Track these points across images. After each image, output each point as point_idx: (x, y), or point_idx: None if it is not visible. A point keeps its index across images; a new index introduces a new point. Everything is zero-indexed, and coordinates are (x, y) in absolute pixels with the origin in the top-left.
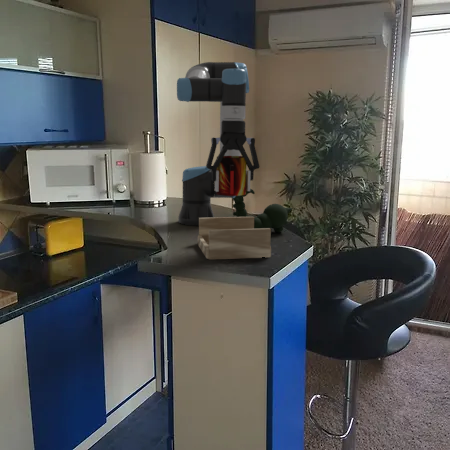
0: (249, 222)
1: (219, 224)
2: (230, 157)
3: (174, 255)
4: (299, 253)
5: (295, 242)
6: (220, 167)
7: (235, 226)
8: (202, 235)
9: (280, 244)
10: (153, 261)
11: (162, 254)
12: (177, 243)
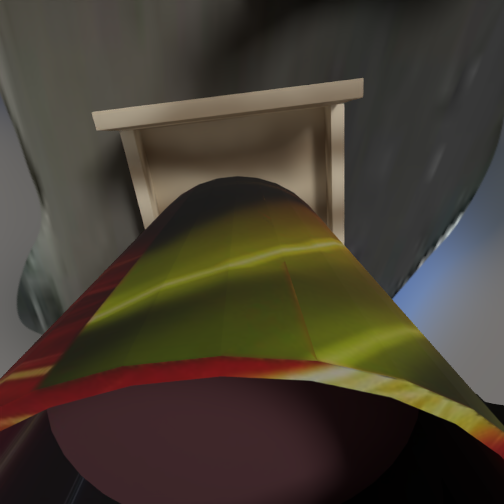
0: (332, 102)
1: (197, 119)
2: (232, 339)
3: (84, 272)
4: (420, 256)
5: (473, 109)
6: (108, 498)
7: (267, 111)
8: (137, 129)
9: (410, 141)
10: (46, 324)
11: (48, 261)
12: (56, 114)
